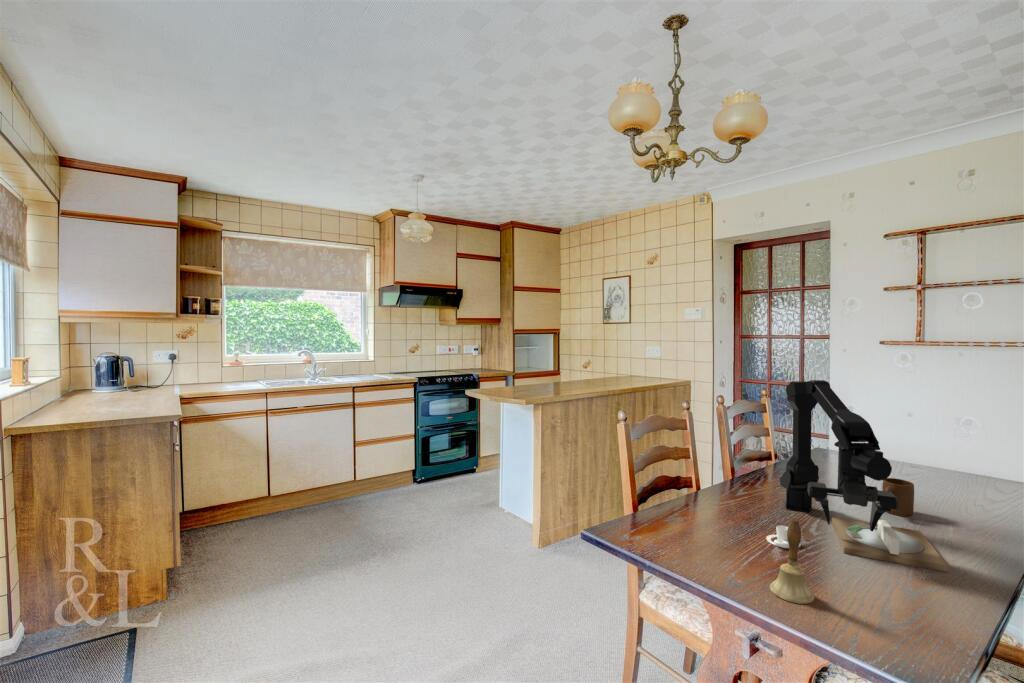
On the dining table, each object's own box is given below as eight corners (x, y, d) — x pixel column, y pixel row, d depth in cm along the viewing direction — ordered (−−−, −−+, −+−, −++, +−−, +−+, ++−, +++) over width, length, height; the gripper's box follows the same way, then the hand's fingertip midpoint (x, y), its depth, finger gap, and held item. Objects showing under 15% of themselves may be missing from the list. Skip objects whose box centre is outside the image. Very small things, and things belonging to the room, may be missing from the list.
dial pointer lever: (871, 526, 132) (871, 511, 132) (883, 528, 131) (883, 513, 131) (887, 554, 116) (888, 537, 116) (901, 556, 115) (901, 539, 115)
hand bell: (798, 582, 107) (800, 511, 106) (823, 604, 98) (825, 527, 98) (761, 582, 106) (763, 512, 106) (784, 604, 98) (786, 528, 98)
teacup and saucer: (786, 553, 121) (786, 537, 121) (757, 540, 128) (757, 525, 128) (807, 546, 125) (807, 530, 125) (778, 534, 132) (778, 519, 132)
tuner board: (843, 553, 120) (844, 545, 120) (831, 522, 139) (831, 515, 139) (947, 571, 111) (947, 563, 111) (919, 536, 130) (919, 529, 130)
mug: (901, 522, 139) (902, 490, 139) (871, 513, 146) (872, 482, 145) (917, 513, 146) (918, 483, 145) (887, 505, 152) (888, 476, 152)
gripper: (812, 471, 121) (810, 532, 122) (905, 482, 113) (903, 547, 113) (807, 460, 131) (806, 516, 132) (893, 469, 123) (891, 529, 123)
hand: (849, 527), depth 125 cm, fingers open, 9 cm apart
